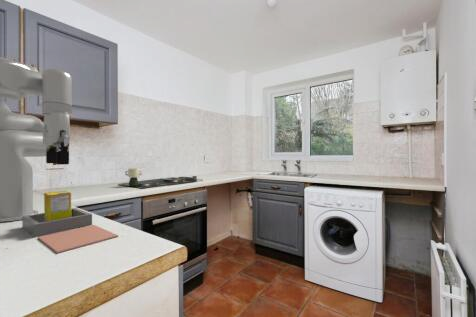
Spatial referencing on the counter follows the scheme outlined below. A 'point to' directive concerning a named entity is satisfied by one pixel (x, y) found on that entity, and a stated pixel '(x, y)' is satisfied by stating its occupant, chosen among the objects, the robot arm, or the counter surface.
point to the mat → (76, 238)
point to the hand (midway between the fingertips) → (57, 163)
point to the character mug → (133, 176)
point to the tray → (55, 223)
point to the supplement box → (57, 205)
